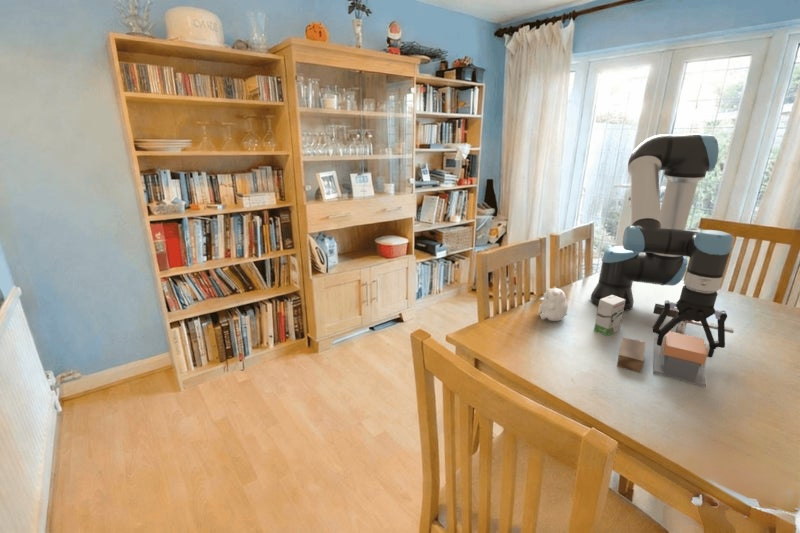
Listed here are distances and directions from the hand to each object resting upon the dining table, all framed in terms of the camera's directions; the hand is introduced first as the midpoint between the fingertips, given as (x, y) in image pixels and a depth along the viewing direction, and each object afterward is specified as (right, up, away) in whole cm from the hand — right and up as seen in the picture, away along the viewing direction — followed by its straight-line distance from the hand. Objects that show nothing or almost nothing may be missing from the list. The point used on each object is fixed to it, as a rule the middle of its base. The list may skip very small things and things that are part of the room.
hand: (680, 360), depth 108 cm
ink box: (-8, +5, +23) cm, 25 cm away
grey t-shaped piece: (+10, +2, +11) cm, 15 cm away
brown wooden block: (-11, -1, +6) cm, 13 cm away
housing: (+3, -1, +5) cm, 6 cm away
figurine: (-24, +7, +32) cm, 41 cm away
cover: (0, +3, -1) cm, 3 cm away
